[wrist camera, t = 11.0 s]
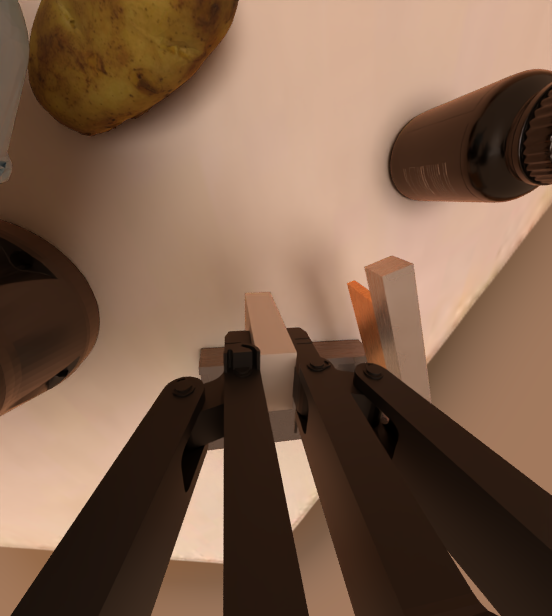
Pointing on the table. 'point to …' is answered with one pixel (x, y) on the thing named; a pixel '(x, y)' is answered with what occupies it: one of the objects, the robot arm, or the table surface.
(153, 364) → the table surface
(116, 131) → the table surface
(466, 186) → the supplement bottle
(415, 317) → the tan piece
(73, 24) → the potato
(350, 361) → the metal plate with cutouts
